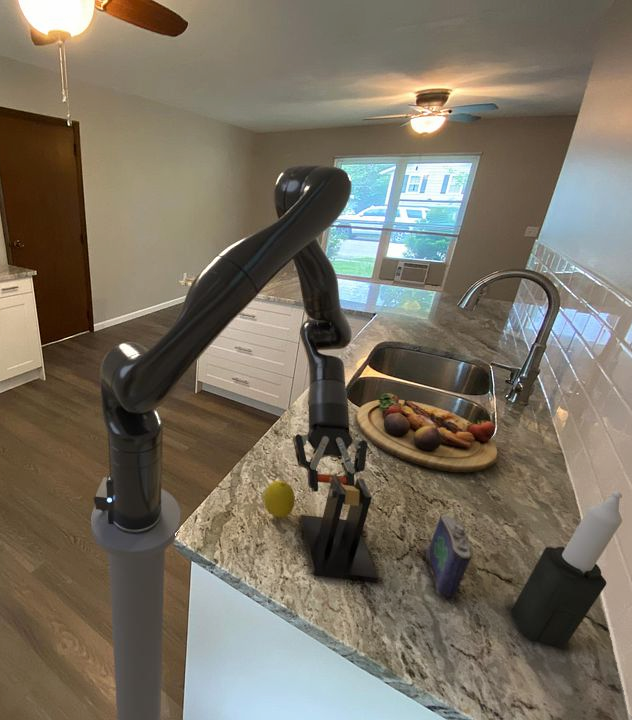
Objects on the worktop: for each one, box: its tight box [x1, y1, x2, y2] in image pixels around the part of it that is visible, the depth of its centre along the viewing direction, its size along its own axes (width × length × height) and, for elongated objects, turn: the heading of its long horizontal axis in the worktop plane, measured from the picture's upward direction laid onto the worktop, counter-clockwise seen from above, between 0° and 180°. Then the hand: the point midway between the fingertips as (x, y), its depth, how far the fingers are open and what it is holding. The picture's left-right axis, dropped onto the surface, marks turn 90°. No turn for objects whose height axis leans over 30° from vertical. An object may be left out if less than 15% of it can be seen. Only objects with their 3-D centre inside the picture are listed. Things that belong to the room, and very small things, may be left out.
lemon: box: [263, 480, 295, 518], centre depth 73 cm, size 6×6×8 cm
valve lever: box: [318, 473, 360, 506], centre depth 68 cm, size 12×5×2 cm, turn 173°
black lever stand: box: [300, 476, 379, 584], centre depth 65 cm, size 12×10×14 cm
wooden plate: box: [355, 392, 499, 473], centre depth 101 cm, size 32×32×8 cm
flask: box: [425, 514, 472, 601], centre depth 62 cm, size 9×3×11 cm, turn 162°
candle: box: [511, 491, 623, 649], centre depth 51 cm, size 5×5×25 cm
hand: (331, 492), depth 72 cm, fingers closed on valve lever, 5 cm apart
